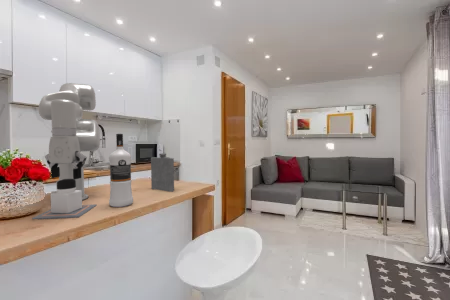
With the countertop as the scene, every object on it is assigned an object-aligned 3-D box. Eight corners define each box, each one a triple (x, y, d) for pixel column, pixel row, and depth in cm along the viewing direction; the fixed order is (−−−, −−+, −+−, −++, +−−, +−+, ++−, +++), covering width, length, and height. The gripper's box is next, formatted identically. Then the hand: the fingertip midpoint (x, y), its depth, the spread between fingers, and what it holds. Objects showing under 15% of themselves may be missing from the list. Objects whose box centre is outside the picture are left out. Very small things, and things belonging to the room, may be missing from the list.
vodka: (132, 200, 103) (130, 134, 102) (134, 205, 95) (132, 133, 94) (109, 203, 99) (107, 133, 98) (109, 208, 91) (106, 133, 90)
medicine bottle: (82, 208, 91) (81, 177, 90) (68, 213, 84) (67, 181, 83) (66, 207, 92) (65, 177, 91) (50, 213, 84) (49, 180, 84)
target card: (32, 219, 79) (31, 218, 79) (57, 207, 94) (57, 205, 94) (78, 217, 81) (78, 215, 81) (96, 205, 96) (96, 204, 96)
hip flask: (150, 188, 129) (149, 153, 128) (155, 187, 132) (155, 152, 131) (171, 192, 120) (170, 153, 119) (176, 190, 124) (176, 153, 123)
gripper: (35, 132, 84) (37, 179, 85) (76, 133, 81) (78, 181, 82) (54, 133, 92) (56, 175, 93) (92, 133, 88) (93, 177, 90)
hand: (66, 178), depth 88 cm, fingers open, 9 cm apart
